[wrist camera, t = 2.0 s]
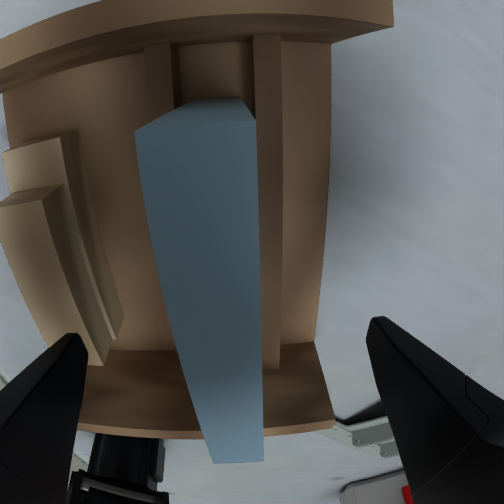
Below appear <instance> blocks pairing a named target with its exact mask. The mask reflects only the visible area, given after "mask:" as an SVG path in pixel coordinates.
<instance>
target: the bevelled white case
mask: <svg viewBox="0 0 504 504" xmlns="http://www.w3.org/2000/svg"><path fill="white" fill-rule="evenodd" d="M340 503H341V504H414V503H413V500H412V495H411V492H410V488H409V485H408V481H407V478H406V475H405V471H404V470H401V471H398V472H394V473H391V474H387V475H384V476H380V477H376V478H372V479H368V480H364V481H360V482H355V483H351V484H349V485H348V486H347V488H346V489H345V490H344V492H343V493H342V495H341V496H340Z"/></svg>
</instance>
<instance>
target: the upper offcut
mask: <svg viewBox="0 0 504 504" xmlns="http://www.w3.org/2000/svg"><path fill="white" fill-rule="evenodd" d="M0 240H1V243H2V246H3V249H4V252H5V254H6V257H7V260H8V262H9V265H10V267H11V270H12V272H13V275H14V277H15V279H16V282H17V284H18V286H19V289H20V291H21V293H22V295H23V298H24V300H25V302H26V304H27V306H28V308H29V310H30V313H31V315H32V317H33V319H34V321H35V323H36V325H37V327H38V328H39V330H40V332H41V334H42V336H43V338H44V340H45V342H46V343H47V345H48V347H50V346H52V345H53V344H54V343H55V342H56V341H58V340H59V339H60V338H61V337H62V336H63V335H65V334H66V333H78V334H79V335H80V336H81V338H82V340H83V342H84V344H85V346H86V348H87V351H88V356H89V357H88V365H98V366H104V363H105V360H106V357H107V354H108V351H109V348H110V345H111V342H112V337H111V334H110V332H109V329H108V327H107V324H106V322H105V319H104V317H103V314H102V311H101V309H100V306H99V303H98V301H97V298H96V295H95V292H94V289H93V287H92V284H91V281H90V278H89V275H88V272H87V269H86V266H85V262H84V259H83V256H82V253H81V249H80V246H79V243H78V239H77V236H76V232H75V228H74V225H73V221H72V217H71V213H70V209H69V205H68V201H67V197H66V192H65V188H64V183H59V184H53V185H48V186H43V187H37V188H32V189H27V190H22V191H18V192H14V193H12V194H11V195H9V196H8V197H7V198H5V199H4V200H3V201H1V202H0Z"/></svg>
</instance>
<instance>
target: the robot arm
mask: <svg viewBox="0 0 504 504" xmlns="http://www.w3.org/2000/svg"><path fill="white" fill-rule="evenodd" d="M366 344H367V348H368V352H369V356H370V361H371V365H372V369H373V373H374V378H375V382H376V385H377V389H378V392H379V394H380V397H381V400H382V403H383V406H384V409H385V412H386V415H387V418H388V421H389V424H390V427H391V430H392V433H393V436H394V439H395V442H396V445H397V448H398V452H399V455H400V458H401V461H402V464H403V468H404V471H405V475H406V478H407V481H408V485H409V488H410V492H411V495H412V500H413V503H414V504H504V400H503V399H501V398H500V397H498V396H496V395H495V394H493V393H492V392H490V391H488V390H487V389H485V388H484V387H483V386H481V385H480V384H478V383H477V382H475V381H474V380H473V379H471V378H470V377H469V376H467V375H465V374H464V373H463V372H462V371H460V370H459V369H458V368H456V367H455V366H454V365H452V364H451V363H449V362H448V361H447V360H445V359H444V358H443V357H441V356H440V355H438V354H437V353H436V352H434V351H433V350H431V349H430V348H429V347H427V346H426V345H425V344H423V343H422V342H420V341H419V340H418V339H416V338H415V337H413V336H412V335H411V334H409V333H408V332H406V331H405V330H404V329H402V328H401V327H399V326H398V325H397V324H395V323H394V322H392V321H391V320H390V319H388V318H387V317H385V316H379V317H373V318H372V319H371V321H370V324H369V328H368V332H367V336H366ZM88 357H89V356H88V351H87V348H86V346H85V344H84V342H83V340H82V338H81V336H80V335H79V334H78V333H66V334H65V335H63V336H62V337H61V338H60V339H59V340H58V341H56V342H55V343H54V344H53V345H52V346H50V347H49V348H48V349H47V350H46V351H45V352H43V353H42V354H41V355H40V356H39V357H38V358H37V359H35V360H34V361H33V362H32V363H31V364H30V365H29V366H27V367H26V368H25V369H24V370H23V371H22V372H21V373H19V374H18V375H17V376H16V377H15V378H14V379H13V380H12V381H10V382H9V383H8V384H7V385H6V386H5V387H4V388H3V389H2V390H1V391H0V504H169V493H168V492H159V491H157V482H160V483H161V482H162V481H163V472H164V461H165V448H164V446H163V444H162V443H161V441H160V439H159V438H145V437H132V436H121V435H112V434H103V433H96V434H95V438H94V442H93V447H92V451H91V456H90V460H89V465H88V470H87V472H85V471H84V470H82V469H79V471H78V472H75V471H72V474H71V479H70V484H69V487H68V481H69V473H70V466H71V460H72V454H73V448H74V442H75V436H76V431H77V426H78V421H79V416H80V411H81V406H82V401H83V396H84V388H85V380H86V372H87V365H88ZM83 487H84V488H87V489H89V491H85V490H83ZM67 488H68V491H67Z"/></svg>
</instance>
